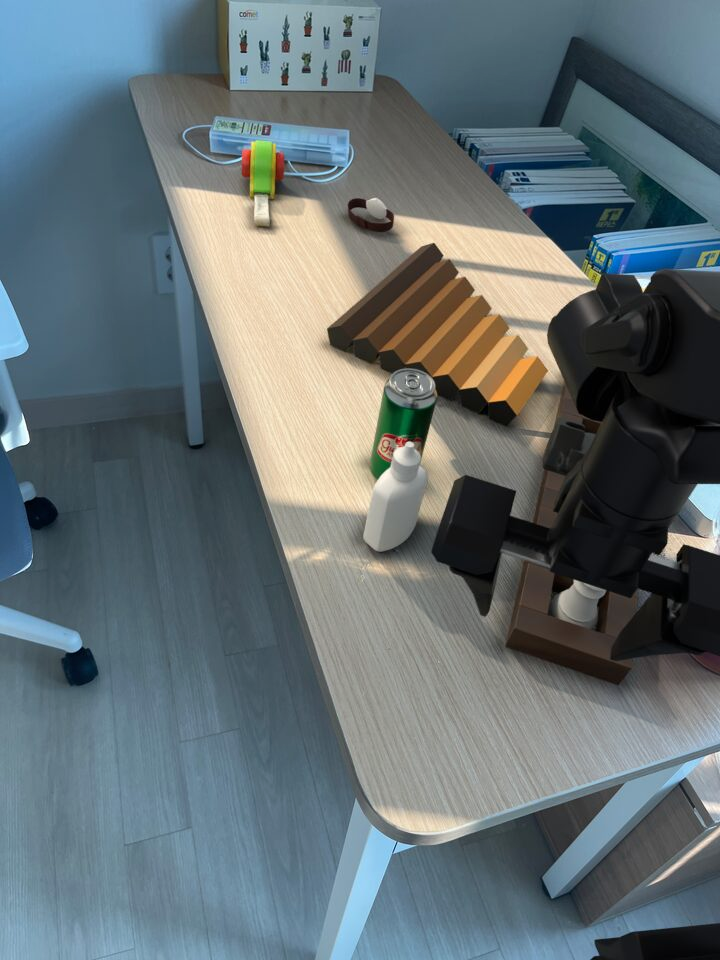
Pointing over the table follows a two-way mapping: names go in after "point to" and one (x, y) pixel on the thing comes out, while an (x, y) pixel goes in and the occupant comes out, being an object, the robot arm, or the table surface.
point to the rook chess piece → (577, 604)
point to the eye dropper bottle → (396, 500)
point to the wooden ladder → (537, 582)
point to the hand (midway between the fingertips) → (547, 632)
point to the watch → (375, 209)
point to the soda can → (403, 416)
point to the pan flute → (441, 336)
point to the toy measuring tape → (262, 176)
